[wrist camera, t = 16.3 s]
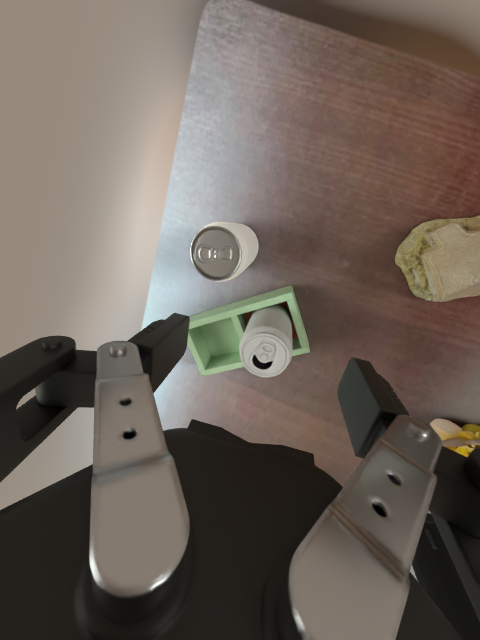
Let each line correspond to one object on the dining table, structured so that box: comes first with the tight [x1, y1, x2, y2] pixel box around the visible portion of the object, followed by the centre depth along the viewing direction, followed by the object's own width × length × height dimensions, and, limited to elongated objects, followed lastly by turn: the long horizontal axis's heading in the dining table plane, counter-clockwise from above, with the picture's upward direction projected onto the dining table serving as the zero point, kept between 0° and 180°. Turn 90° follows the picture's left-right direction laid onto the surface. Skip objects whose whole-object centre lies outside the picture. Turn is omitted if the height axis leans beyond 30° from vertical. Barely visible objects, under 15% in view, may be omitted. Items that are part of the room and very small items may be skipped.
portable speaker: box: [412, 513, 480, 640], centre depth 40 cm, size 9×9×20 cm
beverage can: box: [239, 304, 293, 377], centre depth 33 cm, size 6×6×12 cm
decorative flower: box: [430, 419, 480, 457], centre depth 36 cm, size 15×11×10 cm
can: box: [190, 222, 259, 282], centre depth 31 cm, size 6×6×12 cm
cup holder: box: [187, 285, 310, 376], centre depth 39 cm, size 9×18×5 cm, turn 110°
